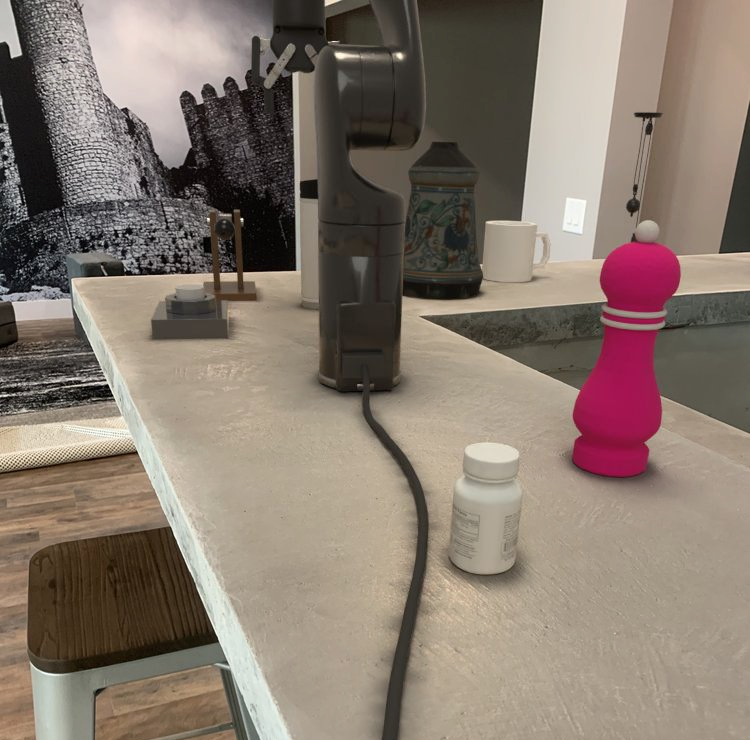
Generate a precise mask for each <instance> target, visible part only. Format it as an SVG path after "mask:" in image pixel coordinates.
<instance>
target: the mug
mask: <svg viewBox="0 0 750 740" xmlns="http://www.w3.org/2000/svg"><path fill="white" fill-rule="evenodd" d="M537 238H541V240H542V241H541V242H542V244H543V245H542V256H541V258H540V261H539V263H534V258H535V251H536V250H535V249H536V242H537V241H536V240H537ZM551 245H552V244H551V241H550V239H549V234H548V233H547V232H543V231H540V232H539V231H538V223H536V222H531V221H521V220H487V221H485V226H484V239H483V252H482V264H481V269H482V272H483V279H484V280H486V281H491V282H500V283H526V282H530V281H532V279H533V270H545V269H546V267H547V265H548V262H549V260H550V257H551ZM483 279H482V280H483Z"/></svg>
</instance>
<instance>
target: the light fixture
mask: <svg viewBox="0 0 750 740" xmlns="http://www.w3.org/2000/svg"><path fill="white" fill-rule="evenodd" d="M663 114H664V113H663V112H655V111H654V112H651V111H650V112H649V111H648V112H645V111H642V112H641V111H638V112H633V115H634V118H638V119H639V118H640V119H642V127H641V132H640V133H641V134H640V142H639V149H638V154H637V161H636V167H635V170H634V171H635V173H634V177H633V186H632V195H633V197H632V198H630V199H629V200H628V201H627V203H626V205H625V209H626V211H627V212H628V213H629V216H630V218H632V217H633V216H634V214H635V213H637V217H636V224H635V229H636V228H637V226H638V223H639V214H640V208H641V202H642V195H643V190H644V189H643V188H644V182H645V176H646V172H647V171H646V170H647V165H648V164H647V163H648V158H649V153H650V148H651V147H650V146H651V139H652V134H653V130H654V125H653V119H661V117H662V116H663ZM646 120H648V121H647V124H646V126H645V129H644V125H645V122H646ZM643 131H644V139H643ZM646 136H649V142H648V148H647V154H646V158H645V159H646V160H645V166H644V171H643V178H642V183H641V189H640V190H641V191H640V196H639V199H637V198H636V196H637V194H638V190H639V182H640V178H641V177H640V176H641V169H642V163H643V155H644V149H645V142H646ZM642 139H643V144H642ZM641 147H642V149H641ZM641 150H642V151H641ZM640 152H641V157H640ZM639 158H640V163H639ZM638 164H640V165H638ZM638 166H639V170H638ZM637 170H638V179H637V183H636V176H637ZM630 242H637V240H636V237H635V232H633V233H632V235H631V238H630Z"/></svg>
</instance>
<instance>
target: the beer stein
mask: <svg viewBox="0 0 750 740" xmlns="http://www.w3.org/2000/svg"><path fill="white" fill-rule="evenodd" d="M407 173H408V180H409V182H410V195H409V200H408V207H407V210H406V218H405V245H404V268H403V295H402V296H405V297H406V296H407V297H410V298H418V299H427V300H429V299H430V300H464V299H465V300H466V299H470V298H473V297H477V296H478V295H479V293H480V288H481V285H482V282H483V272H482V266H481V264H480V259H479V258H480V257H479V250H478V241H477V240H478V239H477V223H476V222H477V221H476V219H477V218H476V203H475V200H476V199H475V188H476V187H475V186H476V184H477V183H478V181H479V178H480V171H479V169H478V168H477V166H476V165H475V164H474V163H473V162H472V161H471V160H470V159H469V158H468V157H467V156H466V155H465V154H464V153H463V152H462V151H461V150H460V149H459V145H458V142H457V141H456V142H455V141H431V144H430V146H429V148H428V149H427V150H426V151H425V152H424V153H423V154H422V155H421V156H420V157H419V158H418V159H416V161H415V162H414V163H413V164H412V165H411V167H410V168H409V169H408V172H407Z"/></svg>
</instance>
